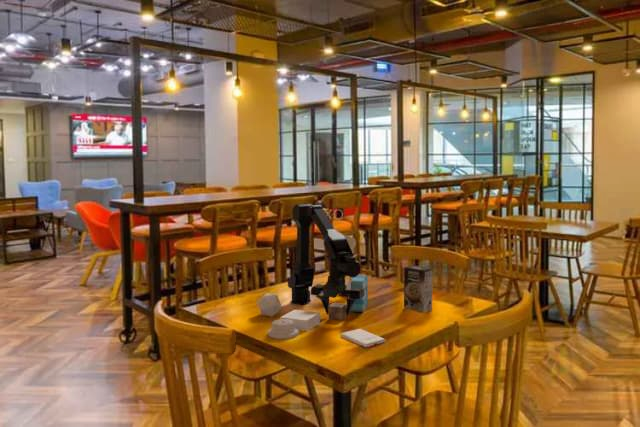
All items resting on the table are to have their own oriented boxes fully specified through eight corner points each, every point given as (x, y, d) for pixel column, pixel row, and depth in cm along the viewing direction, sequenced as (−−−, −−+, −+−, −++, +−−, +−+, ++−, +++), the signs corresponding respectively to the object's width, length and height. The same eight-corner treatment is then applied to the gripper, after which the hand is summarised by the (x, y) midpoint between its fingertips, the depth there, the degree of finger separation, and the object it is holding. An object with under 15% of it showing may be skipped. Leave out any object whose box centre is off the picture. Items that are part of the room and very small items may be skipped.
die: (286, 316, 203) (280, 292, 208) (278, 310, 196) (272, 285, 200) (266, 323, 205) (261, 299, 209) (257, 317, 197) (252, 293, 202)
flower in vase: (370, 292, 234) (370, 234, 231) (357, 298, 224) (357, 238, 222) (344, 289, 241) (343, 232, 238) (330, 294, 231) (329, 235, 229)
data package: (362, 313, 204) (362, 281, 202) (350, 312, 205) (350, 280, 203) (367, 304, 215) (367, 274, 214) (356, 304, 216) (356, 274, 215)
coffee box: (403, 308, 209) (403, 267, 207) (412, 305, 213) (412, 264, 212) (423, 313, 202) (424, 270, 201) (433, 309, 207) (433, 267, 205)
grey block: (280, 328, 188) (280, 317, 187) (294, 320, 197) (294, 309, 196) (307, 332, 184) (306, 320, 183) (319, 323, 192) (319, 312, 192)
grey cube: (328, 319, 196) (328, 306, 196) (333, 316, 201) (333, 302, 200) (341, 321, 194) (341, 307, 194) (346, 317, 199) (346, 304, 198)
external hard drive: (360, 333, 182) (385, 343, 172) (340, 338, 177) (365, 348, 167) (360, 328, 182) (385, 338, 172) (340, 333, 177) (365, 343, 167)
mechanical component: (262, 336, 179) (287, 341, 174) (261, 323, 178) (286, 328, 173) (280, 328, 187) (304, 333, 182) (279, 315, 187) (304, 320, 182)
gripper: (303, 274, 192) (304, 318, 194) (354, 279, 185) (354, 324, 186) (316, 268, 202) (317, 310, 204) (364, 272, 195) (365, 315, 196)
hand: (337, 314), depth 197 cm, fingers open, 7 cm apart
